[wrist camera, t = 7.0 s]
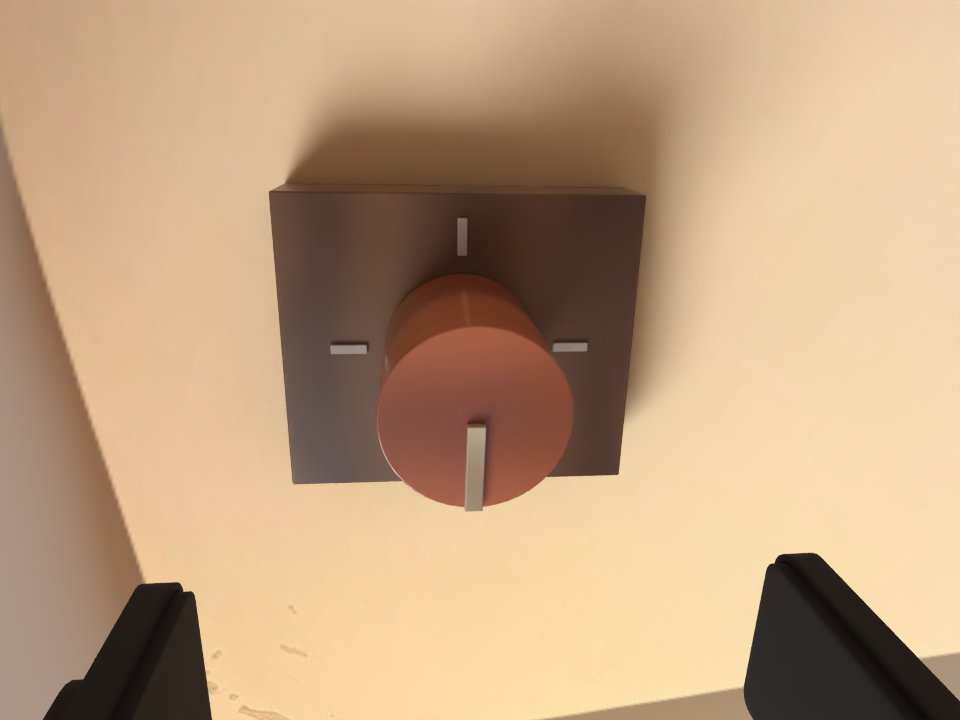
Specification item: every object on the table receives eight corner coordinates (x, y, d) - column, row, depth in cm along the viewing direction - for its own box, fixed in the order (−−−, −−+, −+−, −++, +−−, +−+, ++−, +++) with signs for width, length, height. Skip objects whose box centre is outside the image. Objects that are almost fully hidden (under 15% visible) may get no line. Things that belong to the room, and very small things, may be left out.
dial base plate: (303, 451, 31) (291, 486, 28) (283, 183, 27) (267, 191, 24) (601, 444, 32) (619, 477, 30) (623, 187, 28) (648, 195, 26)
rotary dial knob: (384, 271, 26) (373, 327, 19) (540, 274, 26) (585, 329, 19) (385, 416, 28) (376, 514, 21) (530, 416, 28) (568, 511, 21)
